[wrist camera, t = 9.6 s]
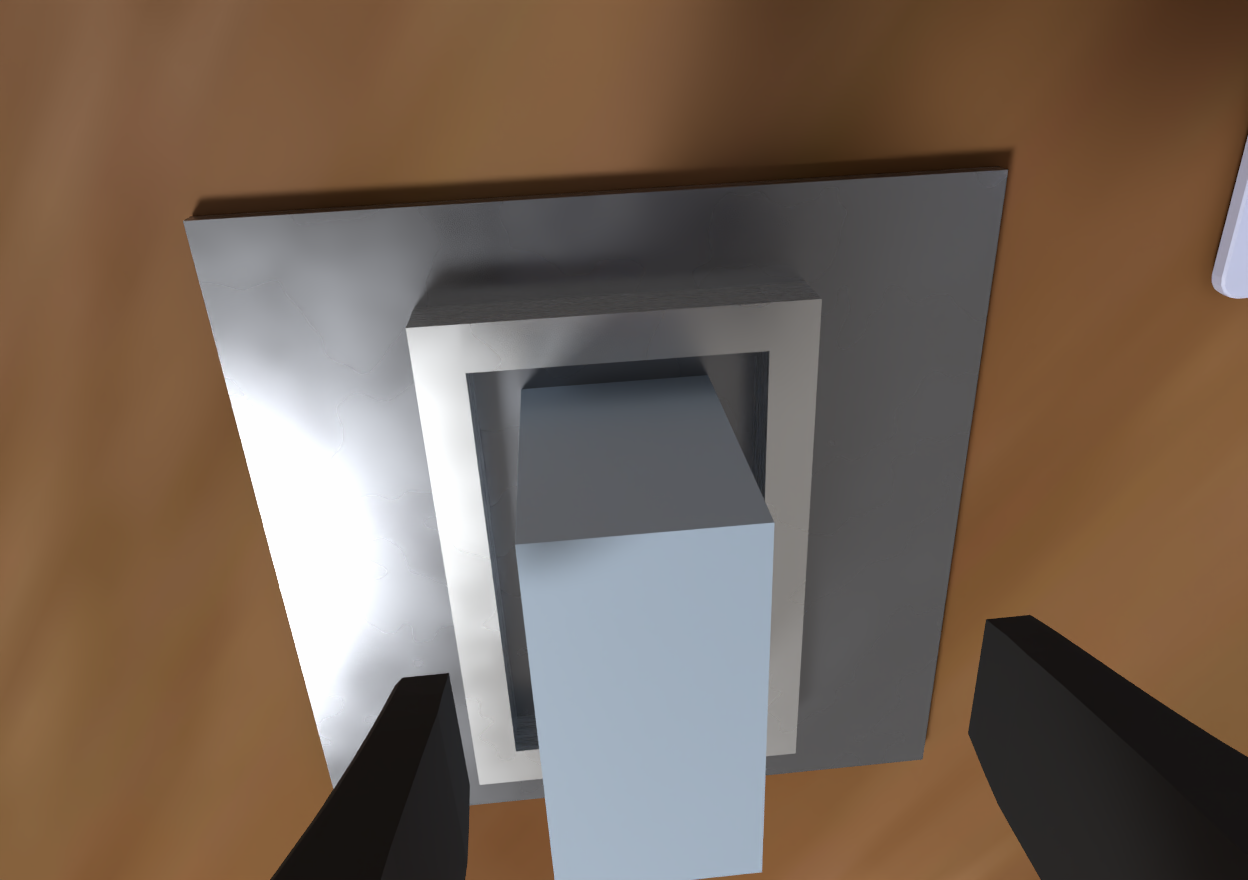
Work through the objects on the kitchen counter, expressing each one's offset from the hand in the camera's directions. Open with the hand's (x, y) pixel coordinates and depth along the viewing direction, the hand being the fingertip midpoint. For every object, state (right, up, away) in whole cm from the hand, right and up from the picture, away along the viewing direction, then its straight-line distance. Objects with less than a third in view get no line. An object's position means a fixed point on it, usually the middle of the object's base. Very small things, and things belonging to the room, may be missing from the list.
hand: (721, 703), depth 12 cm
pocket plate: (-1, +1, +9) cm, 9 cm away
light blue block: (-1, +1, +9) cm, 9 cm away
